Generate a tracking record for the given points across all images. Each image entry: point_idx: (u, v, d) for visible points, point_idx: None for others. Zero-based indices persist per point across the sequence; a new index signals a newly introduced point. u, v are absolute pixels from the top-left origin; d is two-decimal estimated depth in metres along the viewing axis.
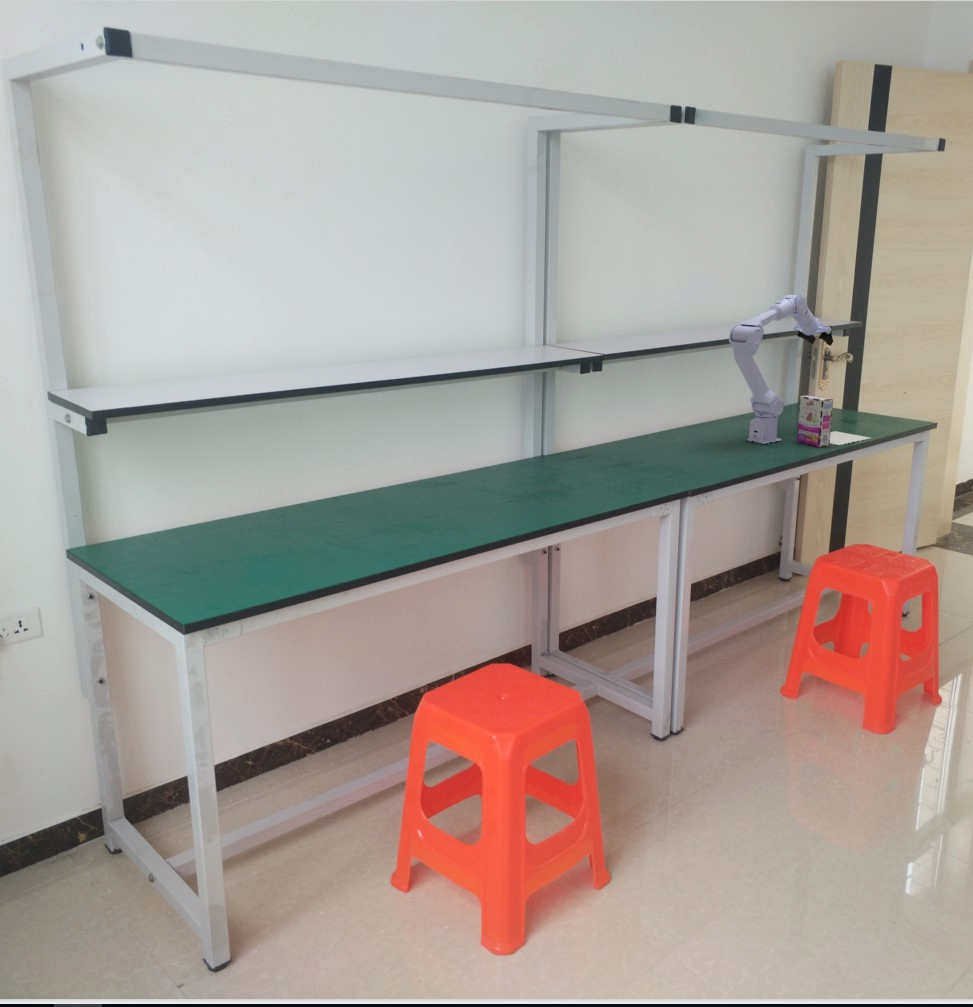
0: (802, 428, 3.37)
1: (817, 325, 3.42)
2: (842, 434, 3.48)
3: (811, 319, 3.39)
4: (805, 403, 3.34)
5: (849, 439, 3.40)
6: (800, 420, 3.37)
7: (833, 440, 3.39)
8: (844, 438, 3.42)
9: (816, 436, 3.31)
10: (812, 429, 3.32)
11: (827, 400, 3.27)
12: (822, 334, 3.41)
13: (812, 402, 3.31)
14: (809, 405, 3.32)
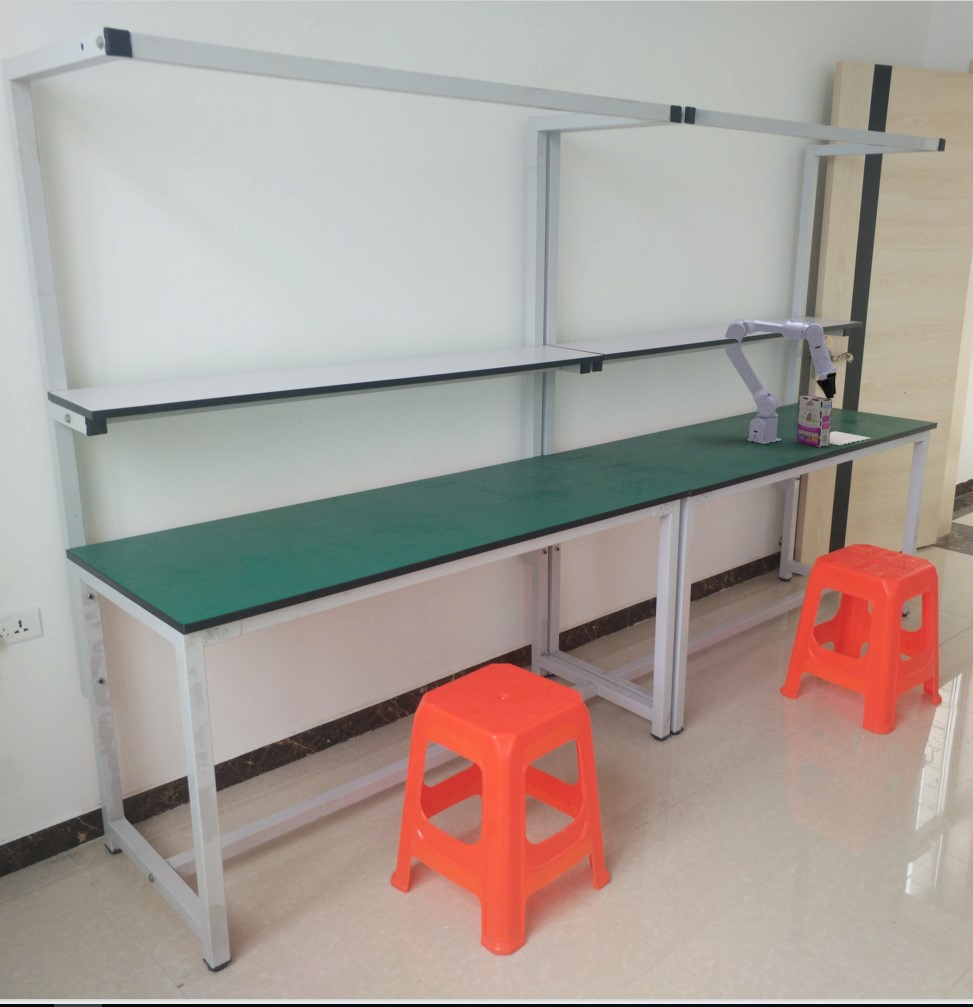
0: (802, 429, 3.37)
1: (824, 370, 3.27)
2: (842, 434, 3.48)
3: (820, 358, 3.27)
4: (804, 403, 3.34)
5: (849, 439, 3.40)
6: (800, 420, 3.37)
7: (833, 440, 3.39)
8: (844, 438, 3.42)
9: (815, 437, 3.31)
10: (811, 429, 3.32)
11: (826, 400, 3.27)
12: None
13: (812, 403, 3.30)
14: (808, 405, 3.32)
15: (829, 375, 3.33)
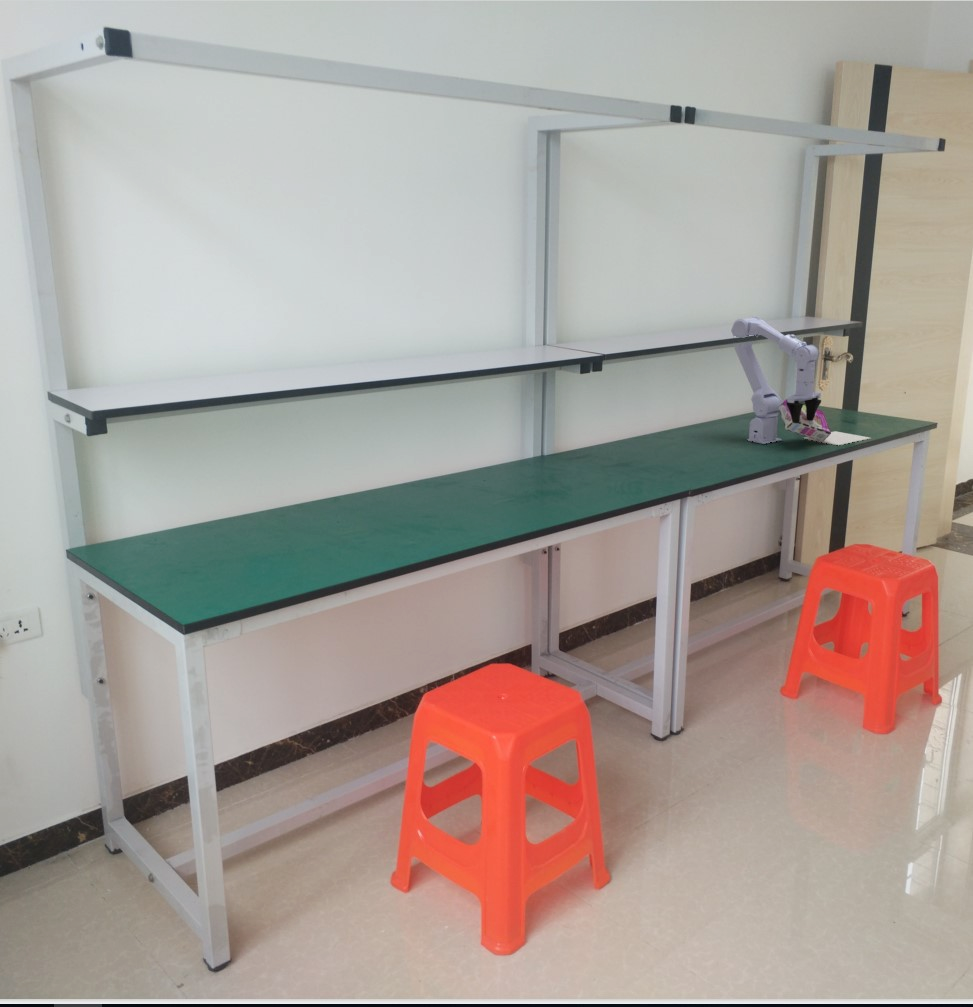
0: None
1: (800, 394, 3.26)
2: (842, 434, 3.48)
3: (800, 381, 3.25)
4: None
5: (849, 439, 3.40)
6: None
7: (833, 440, 3.39)
8: (844, 438, 3.42)
9: None
10: None
11: (790, 425, 3.30)
12: None
13: None
14: None
15: (812, 400, 3.30)
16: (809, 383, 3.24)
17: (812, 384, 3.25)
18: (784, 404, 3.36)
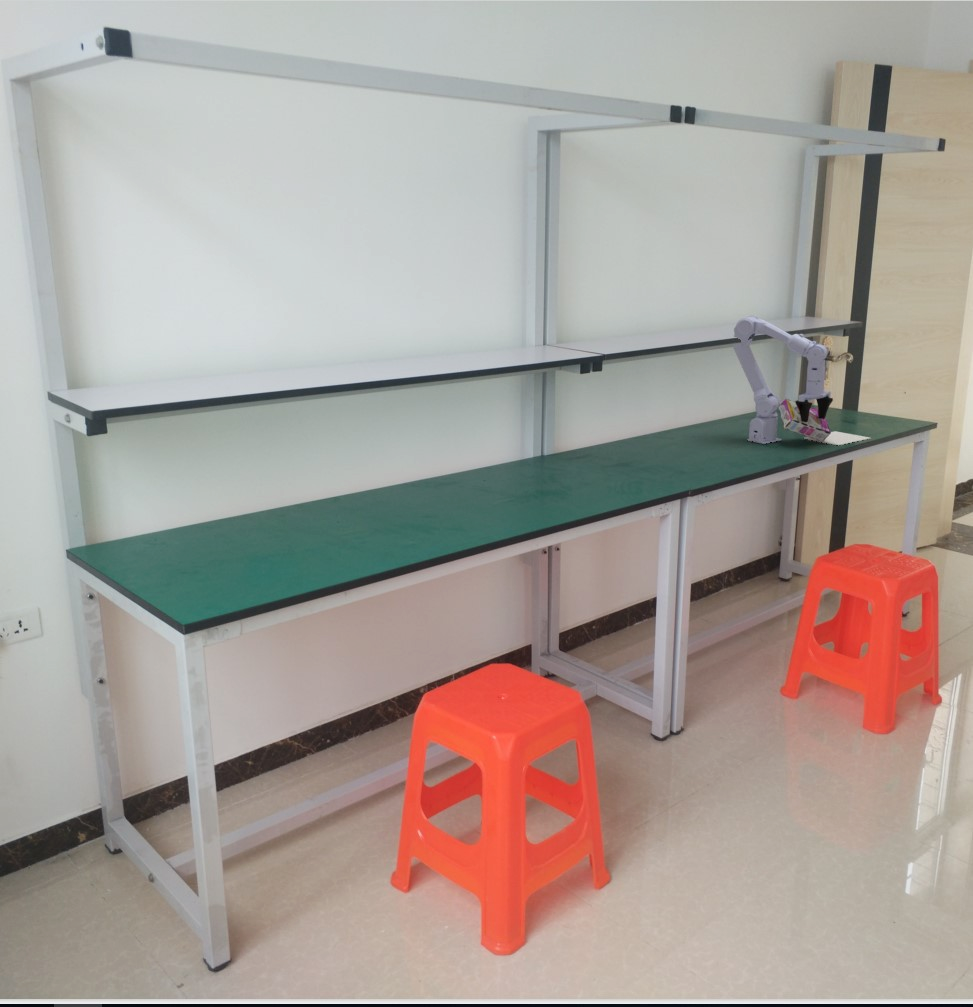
0: None
1: (810, 392, 3.29)
2: (842, 434, 3.48)
3: (813, 380, 3.27)
4: None
5: (849, 439, 3.40)
6: None
7: (833, 440, 3.39)
8: (844, 438, 3.42)
9: None
10: None
11: (788, 424, 3.31)
12: None
13: None
14: None
15: (824, 399, 3.33)
16: (819, 382, 3.27)
17: (822, 383, 3.28)
18: (783, 404, 3.37)
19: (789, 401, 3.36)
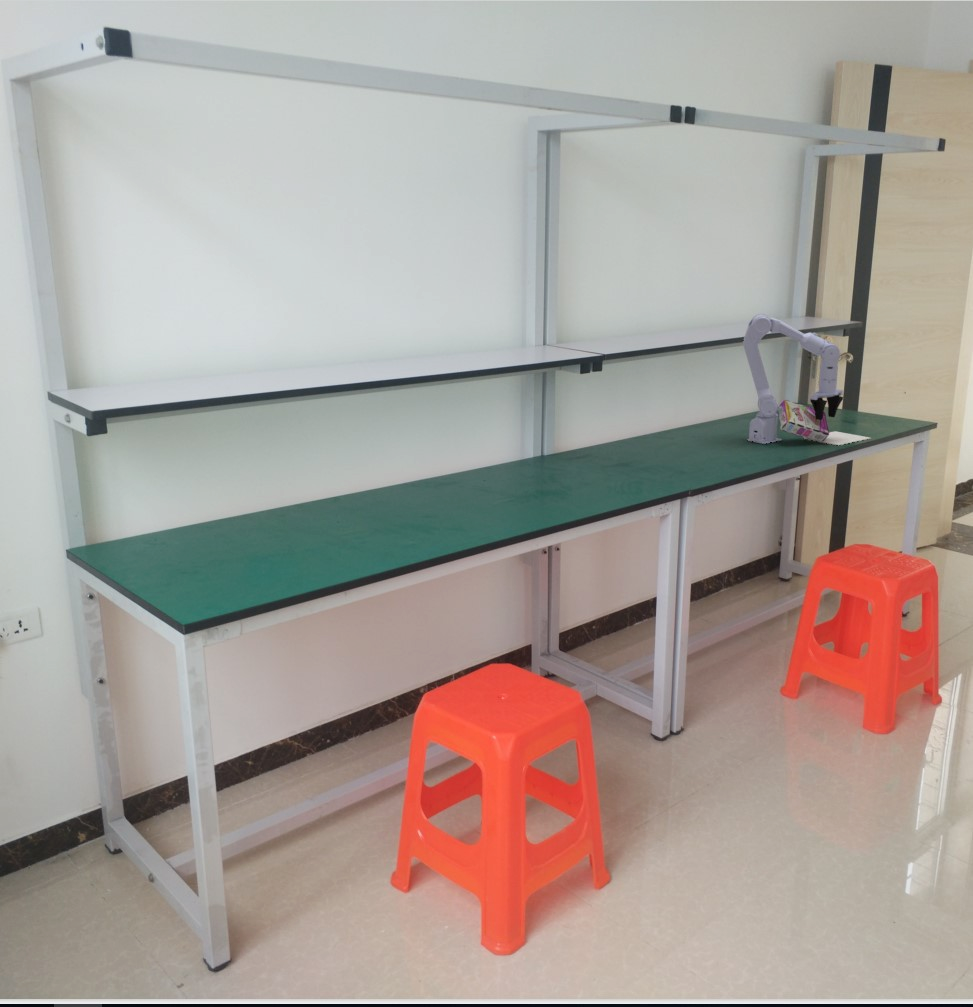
0: None
1: (823, 391, 3.33)
2: (842, 434, 3.48)
3: (829, 379, 3.31)
4: None
5: (849, 439, 3.40)
6: None
7: (833, 440, 3.39)
8: (844, 438, 3.42)
9: None
10: None
11: (784, 426, 3.33)
12: None
13: None
14: None
15: (834, 397, 3.37)
16: (832, 380, 3.31)
17: (835, 381, 3.32)
18: (782, 405, 3.38)
19: (788, 402, 3.37)
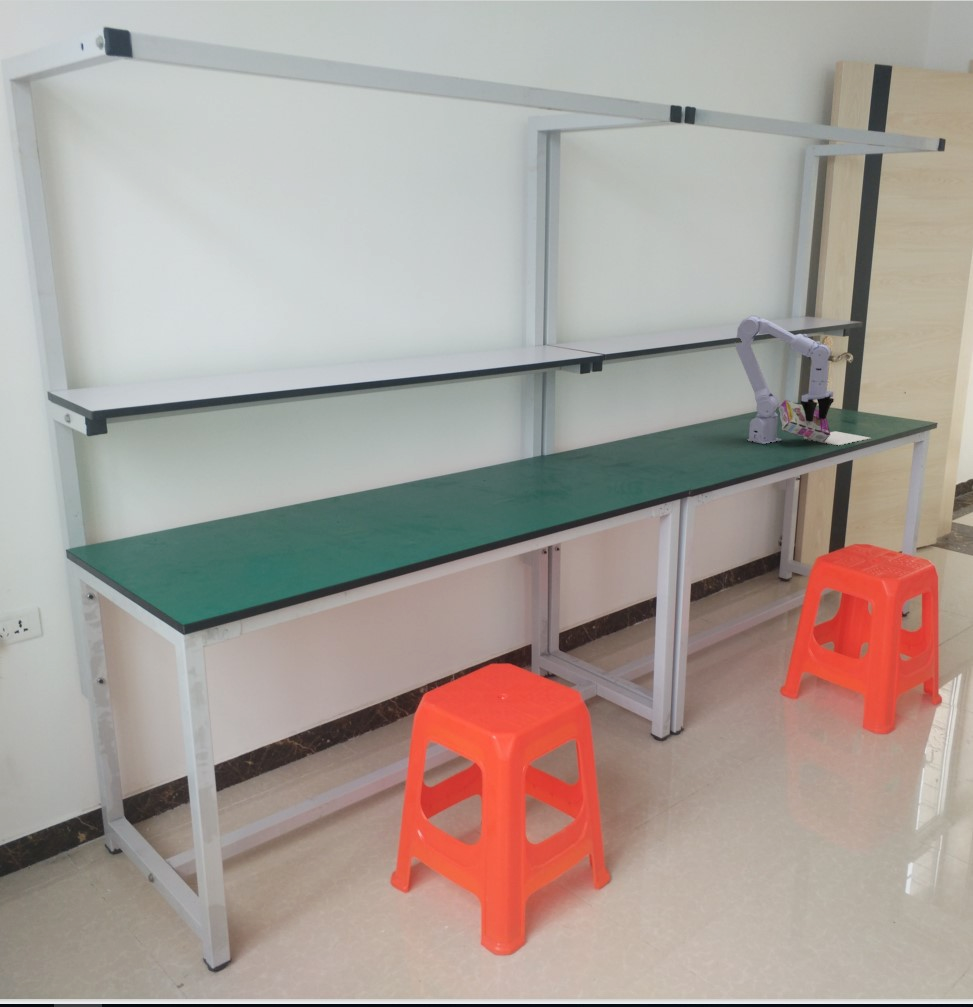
0: None
1: (813, 392, 3.30)
2: (842, 434, 3.48)
3: (817, 380, 3.28)
4: None
5: (849, 439, 3.40)
6: None
7: (833, 440, 3.39)
8: (844, 438, 3.42)
9: None
10: None
11: (786, 426, 3.32)
12: None
13: None
14: None
15: (825, 399, 3.34)
16: (823, 382, 3.28)
17: (826, 383, 3.29)
18: (783, 405, 3.37)
19: (789, 402, 3.37)
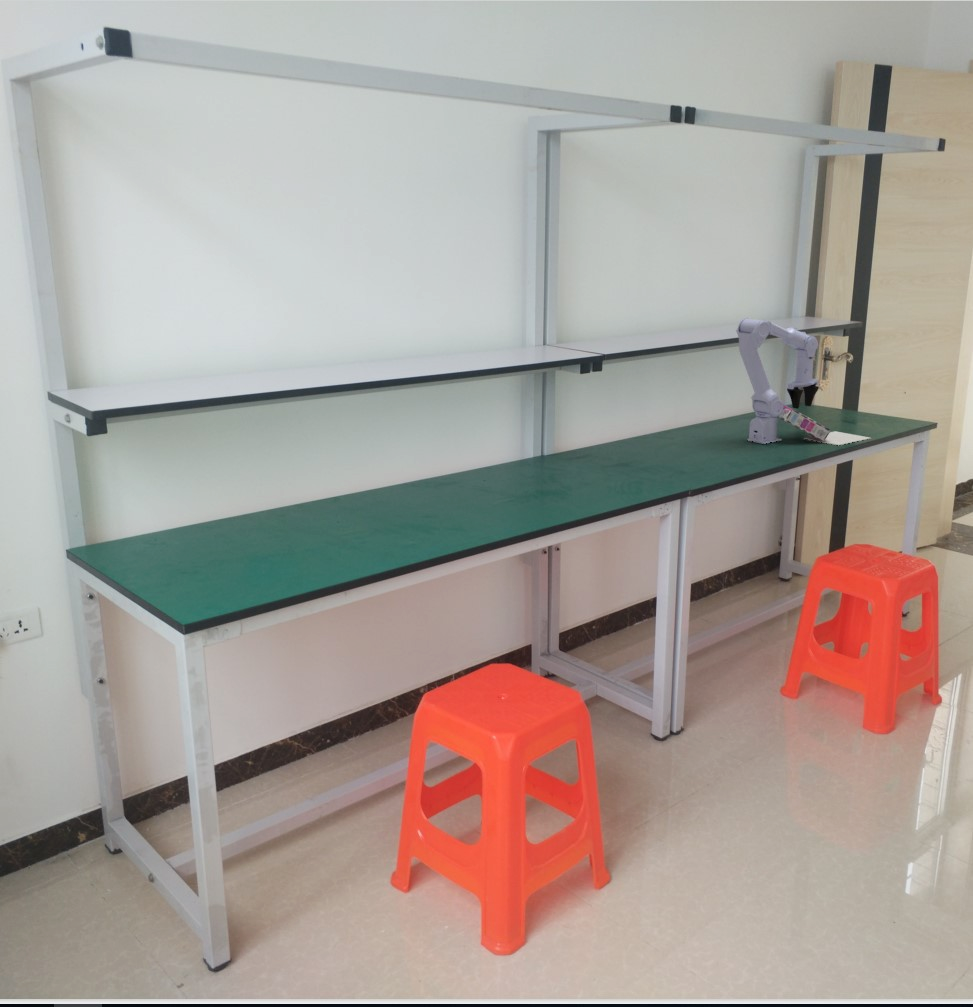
0: None
1: (799, 380, 3.43)
2: (842, 434, 3.48)
3: (810, 368, 3.41)
4: None
5: (849, 439, 3.40)
6: None
7: (833, 440, 3.39)
8: (844, 438, 3.42)
9: (814, 436, 3.38)
10: None
11: (789, 415, 3.34)
12: None
13: None
14: (785, 421, 3.40)
15: (810, 387, 3.47)
16: (808, 370, 3.41)
17: (811, 371, 3.42)
18: None
19: None
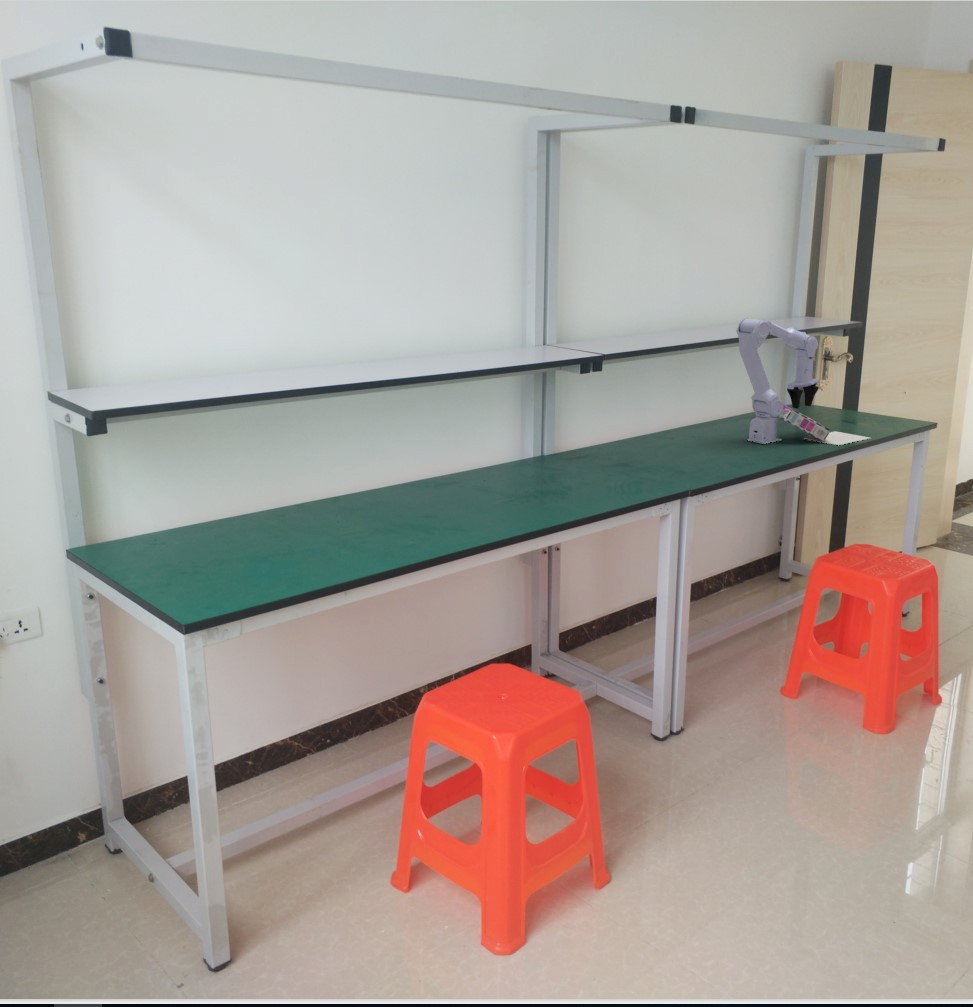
0: None
1: (799, 380, 3.43)
2: (842, 434, 3.48)
3: (810, 368, 3.41)
4: None
5: (849, 439, 3.40)
6: None
7: (833, 440, 3.39)
8: (844, 438, 3.42)
9: (813, 436, 3.38)
10: None
11: (789, 415, 3.34)
12: None
13: None
14: (785, 421, 3.40)
15: (810, 387, 3.47)
16: (808, 370, 3.41)
17: (811, 371, 3.42)
18: None
19: None
